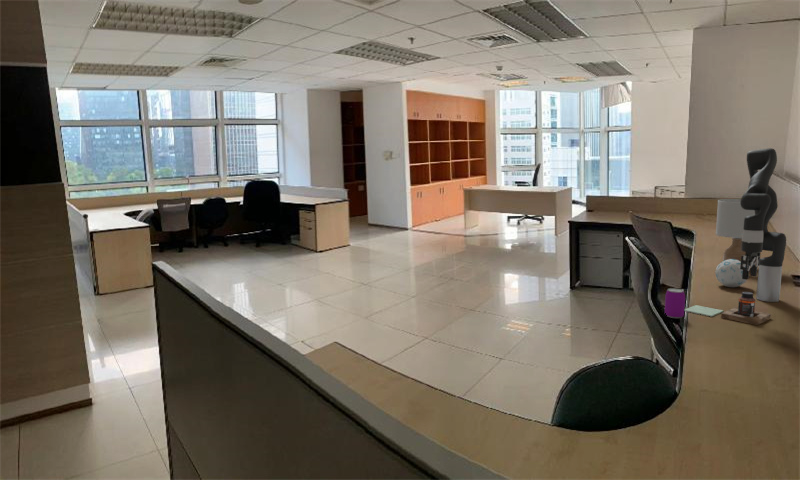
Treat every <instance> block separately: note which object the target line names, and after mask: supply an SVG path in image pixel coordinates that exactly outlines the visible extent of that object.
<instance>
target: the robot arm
mask: <svg viewBox="0 0 800 480" xmlns="http://www.w3.org/2000/svg"><path fill="white" fill-rule="evenodd" d="M777 163H778V155H777V152H776V150H775V149H774V148H771V147H769V148H768V147H767V148H763V149H761V148H759V149H754V150H749V151H748V152H747V153H746V165H747V170H748V174H749V179H750V180H749V182H748V188H747V190H746V191H745V192H744V193H743V194H742V196H741V198H740V199H741V201H740V205H741V207H742V208H743V209H745V210H754V211H755V215H751V216H746V217H745V218H744V228H743V229H744V230H743V234H742V244H741V250H742V251H744V252H746V253H745V256H743V255H742V256H741V266H740V269H742V270H743V273H742V279H746V280H749V278H750V277H757V286H756V296H755V297H756V298H755V300H756V299H757V300H758V301H761V302H762V301H763V302H768V303H770V302H771V303H778V302H779V301H780V295H781V286H782V285H781V284H782V276H783V275H782V274H783V263H784V260H785V252H786V246H787V236H786V234H785V233H783V232H775V231H769V229H768V224H769V222H770V220H771V218H772V217H773V216H774V215H775V213H776V211H778V210H777V209H778V205H779V204H778V198H777V193H776V191H775V190H774V188H772V187H771V186H770V185H769V184H770V181H771V177H772V176H773V173H774V171H775V169H776V166H777ZM763 251H769V252H772V253H771V255H769V256H765V257H761V255H762V254H761V253H762V252H763ZM745 266H746V267H745ZM749 276H750V277H749Z"/></svg>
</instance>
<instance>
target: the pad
mask: <svg viewBox="0 0 800 480" xmlns="http://www.w3.org/2000/svg"><path fill="white" fill-rule="evenodd" d="M684 312H687V313H690V312H691V314H695V315H700V314H701V315H700V316H705V315H706V316H707V317H709V316H710V318H712V317H714V316H717V315H719V314H720V315H721V313H723V312H725V311H724V310H723V309H716V308H713V307H707V306H703V305H702V306H701V305H699V304H698V305H697V304H695V305H693V306H689V307H688V308H684ZM706 316H705V317H706Z"/></svg>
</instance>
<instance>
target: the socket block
mask: <svg viewBox="0 0 800 480" xmlns="http://www.w3.org/2000/svg"><path fill="white" fill-rule="evenodd" d="M720 315H721V316H720V318H721V319H727V320H731V321H734V322H735V321H737V322H741V323H745V324H751V325H754V326H758V325H761V324H763V323H764V322H767V321H768V320H770V319H771V315H772V314H771V313H766V312H762V311H761V312H760V311H757V310H754V317H753V318H752V317H747V316H742V315H738V307H735V306H734V307H732V308H731V309H730V308H729V309H728V310H725V311H724V312H722V313H720Z"/></svg>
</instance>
